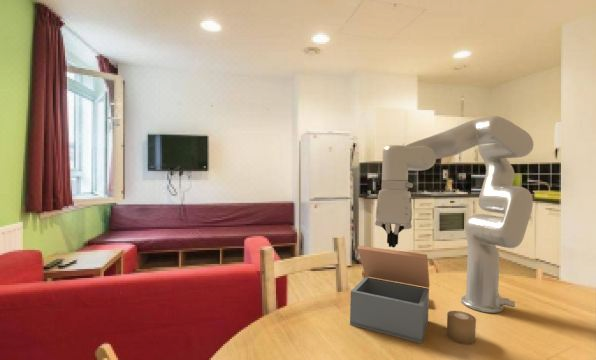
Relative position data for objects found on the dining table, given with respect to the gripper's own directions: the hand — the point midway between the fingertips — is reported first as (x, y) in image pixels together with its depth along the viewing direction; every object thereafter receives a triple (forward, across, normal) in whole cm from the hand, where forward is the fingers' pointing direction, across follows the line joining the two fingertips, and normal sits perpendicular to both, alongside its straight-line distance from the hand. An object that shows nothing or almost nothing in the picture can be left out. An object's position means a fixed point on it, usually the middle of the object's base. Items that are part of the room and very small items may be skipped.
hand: (392, 246), depth 94 cm
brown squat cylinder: (+23, -19, 0) cm, 30 cm away
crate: (+23, 0, +1) cm, 23 cm away
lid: (+7, 0, -2) cm, 7 cm away
